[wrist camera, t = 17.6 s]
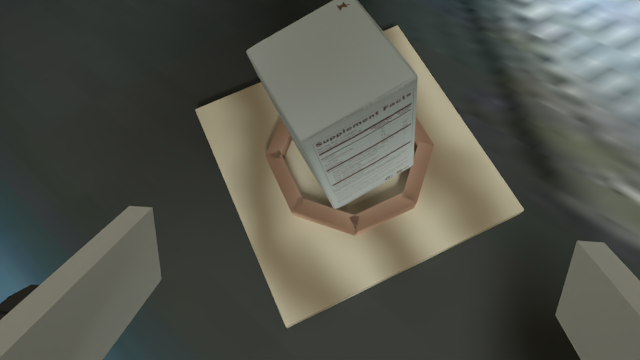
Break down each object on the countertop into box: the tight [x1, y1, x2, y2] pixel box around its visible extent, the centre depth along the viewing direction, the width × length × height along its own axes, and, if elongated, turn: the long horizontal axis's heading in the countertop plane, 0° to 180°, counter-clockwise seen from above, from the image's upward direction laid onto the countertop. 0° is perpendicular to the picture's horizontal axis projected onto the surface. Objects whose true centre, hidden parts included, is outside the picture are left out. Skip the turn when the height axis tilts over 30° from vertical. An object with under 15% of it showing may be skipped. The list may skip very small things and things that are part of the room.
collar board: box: [195, 25, 524, 328], centre depth 37 cm, size 20×20×2 cm
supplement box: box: [246, 0, 418, 210], centre depth 30 cm, size 7×7×13 cm
